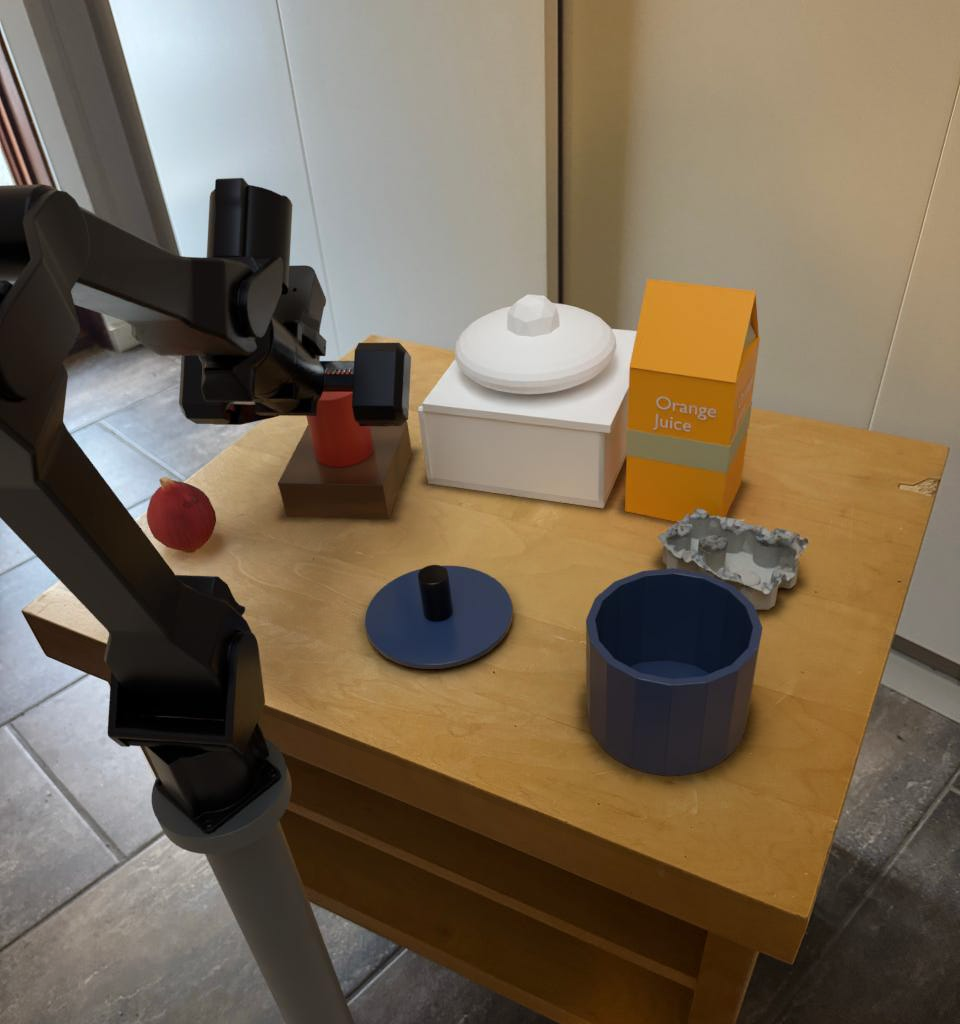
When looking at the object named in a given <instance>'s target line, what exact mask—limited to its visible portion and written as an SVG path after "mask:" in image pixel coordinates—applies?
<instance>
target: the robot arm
mask: <svg viewBox="0 0 960 1024" xmlns="http://www.w3.org/2000/svg"><path fill="white" fill-rule="evenodd" d="M214 183H215V184H214V189H213V190H212V191H211V192H210V195H209V202H208V203H209V204H208V221H207V223H208V224H207V225H208V226H207V240H206V241H207V242H206V243H207V244H206V257H200V256H199V257H195V256H194V257H193V256H183V255H177V254H176V253H174V252H171V251H169V250H167V249H165V248H163V247H162V246H160V245H158V244H155V243H153V242H152V241H150V240H148V239H146V238H144V237H142V236H140V235H138V234H136V233H134V232H132V231H131V230H128V229H126V228H124V227H122V226H120V225H118V224H116V223H115V222H112V221H110V220H108V219H106V218H104V217H102V216H100V215H98V214H96V213H94V212H92V211H91V210H88V209H86V208H84V207H82V206H81V205H79V203H78V202H77V200H76V199H75V197H73V196H72V195H71V194H69V192H67V191H65V190H58V189H56V188H55V187H54V186H52V185H47V184H44V183H43V184H42V183H41V184H13V185H9V184H8V185H7V184H6V185H0V519H1V520H2V521H3V523H5V525H6V526H7V527H8V528H9V529H10V530H11V531H12V532H13V533H14V534H15V535H16V536H17V537H18V538H19V539H20V541H22V542H23V544H25V546H26V547H27V548H28V549H29V550H30V551H31V552H32V553H33V554H34V555H35V556H36V557H37V558H38V559H39V560H40V561H41V562H42V564H44V566H46V568H47V569H49V571H50V572H51V573H52V574H53V575H54V576H55V577H56V579H58V581H60V583H61V584H63V585H64V587H65V588H67V590H69V592H70V593H71V594H72V595H73V596H74V597H75V598H76V599H77V600H78V602H80V603H81V604H82V605H83V606H84V607H85V608H86V609H87V611H88V612H89V613H90V614H91V615H92V617H94V618H95V619H96V620H97V621H98V622H99V623H100V624H101V625H102V626H103V627H104V629H106V631H107V633H108V637H107V642H106V646H105V651H104V654H103V661H104V662H105V664H106V665H107V667H108V668H109V670H110V671H111V672H110V683H109V684H110V686H109V703H108V717H107V737H108V738H109V739H111V740H112V741H114V743H116V744H117V745H118V746H120V747H126V748H129V747H132V746H133V747H142V748H143V747H144V749H145V751H146V753H147V755H148V758H149V759H150V762H151V763H152V765H153V767H154V769H155V771H156V773H157V776H158V775H159V777H160V778H159V779H158V780H157V781H156V783H155V782H154V783H155V786H156V788H157V790H158V791H159V792H160V793H161V794H162V795H163V796H164V797H165V798H166V799H167V800H168V801H170V802H171V803H172V804H173V805H174V806H175V807H176V808H177V809H178V810H179V811H180V812H182V813H183V814H184V815H185V816H186V817H187V818H188V819H189V820H190V821H191V822H193V823H194V824H195V825H196V826H197V827H198V828H199V829H200V830H201V831H202V832H203V833H205V834H212V833H213V832H215V831H216V830H217V829H219V828H220V827H221V826H223V825H224V824H225V823H226V822H228V821H229V820H230V819H231V818H233V817H234V816H235V815H236V814H238V813H239V812H240V811H241V810H243V809H244V808H245V807H247V806H248V805H249V804H250V803H252V802H253V801H254V800H255V799H257V798H258V797H259V796H260V795H262V794H263V793H264V792H265V791H267V790H268V789H269V788H271V787H272V786H273V785H274V784H276V783H277V782H278V781H279V780H280V779H281V773H280V771H279V769H278V768H276V767H275V766H274V765H273V764H271V763H270V762H269V761H267V760H266V759H265V758H267V757H268V756H269V750H268V747H267V744H266V741H265V738H266V737H265V736H264V733H263V730H262V728H261V725H260V722H259V719H260V716H261V715H262V712H263V710H264V707H265V704H266V698H265V697H266V696H265V689H264V680H263V674H262V673H263V672H262V665H261V657H260V650H259V649H260V648H259V643H258V639H257V637H256V635H255V634H254V632H252V629H251V627H250V625H249V623H248V621H247V620H246V619H245V617H244V616H243V615H244V614H245V612H246V607H245V606H244V605H241V604H240V603H239V602H238V601H237V600H236V599H235V597H234V596H233V595H234V594H233V592H232V591H231V588H230V586H229V584H228V583H227V582H225V580H224V579H222V578H221V577H220V576H216V575H214V576H213V575H189V574H187V575H185V574H176V573H175V572H174V571H173V569H172V567H170V566H169V564H168V563H167V562H166V560H165V559H164V557H163V556H162V554H160V552H159V551H158V549H157V548H156V547H155V545H154V544H153V543H152V542H151V540H150V539H149V537H148V536H147V534H146V533H145V532H144V530H143V529H142V528H141V526H140V525H139V524H138V522H137V521H136V520H135V518H134V517H133V516H132V514H131V513H130V512H129V510H128V509H127V508H126V506H125V505H124V504H123V503H122V501H121V500H120V498H119V497H118V496H117V494H116V493H115V491H114V490H113V489H112V488H111V487H110V485H109V483H107V481H106V480H105V478H104V476H102V474H101V472H99V470H98V469H97V468H96V466H95V465H94V464H93V462H92V461H91V460H90V458H89V457H88V456H87V454H86V453H85V451H84V450H83V449H82V448H81V446H80V445H79V443H78V442H77V440H76V439H75V438H74V437H73V435H72V434H71V433H70V431H69V430H68V428H67V426H66V424H65V422H64V417H65V407H66V396H67V389H68V378H69V374H68V371H67V369H66V366H65V365H64V361H65V359H66V358H67V356H68V354H69V353H70V352H71V350H72V348H73V347H74V344H75V343H76V341H77V340H78V338H79V336H80V335H81V329H82V328H81V325H80V321H79V317H78V313H77V309H76V306H78V307H80V308H84V309H87V310H90V311H93V312H96V313H99V314H102V315H105V316H108V317H112V318H113V319H114V318H115V319H117V320H121V321H123V322H125V323H127V324H128V325H130V333H131V337H132V338H133V339H134V341H137V342H138V343H140V344H142V346H144V347H146V348H148V349H149V350H151V351H152V352H153V353H155V354H156V355H159V356H161V357H163V356H164V357H171V356H172V357H174V356H175V357H177V356H178V357H180V358H181V360H180V377H179V378H180V379H179V395H178V397H179V398H178V404H179V409H180V412H181V413H182V414H183V416H184V418H185V419H187V420H188V421H190V422H193V423H194V424H196V425H215V426H216V425H217V426H220V425H221V426H224V425H225V426H242V425H246V424H251V423H254V422H260V421H263V420H264V421H265V420H269V419H273V418H276V417H280V416H281V417H282V416H283V417H284V416H285V417H286V416H288V417H289V416H290V417H294V416H295V417H306V416H317V401H318V400H319V399H320V397H321V395H322V393H323V392H353V395H352V409H353V414H354V419H355V421H356V422H358V423H359V426H402V425H403V424H404V423H405V422H406V421H407V422H408V420H409V411H410V410H409V408H410V391H411V369H412V356H411V354H410V353H409V351H408V350H407V349H406V348H405V347H404V346H403V345H402V344H401V342H358V343H357V344H356V347H355V349H354V355H353V356H354V358H353V360H320V359H321V357H326V355H327V340H326V339H325V338H324V337H323V336H322V334H321V333H320V330H321V324H322V320H323V315H324V311H325V310H324V309H325V307H326V304H327V297H326V295H325V293H324V290H323V288H322V286H321V285H322V284H321V283H320V280H319V278H318V275H317V273H316V271H315V269H314V268H313V267H312V266H311V265H291V263H290V262H291V241H292V224H293V223H292V222H293V202H292V200H291V199H290V198H289V197H288V196H286V195H282V194H280V193H278V192H275V191H273V190H271V189H268V188H265V187H261V186H257V185H253V184H249V183H248V182H247V181H246V180H245V179H244V177H230V178H229V177H227V178H225V177H224V178H216V179H215V182H214ZM337 371H338V373H339V374H337ZM342 371H343V374H341V373H342ZM328 372H329V374H327V373H328ZM332 372H333V373H334V374H332ZM346 372H348V374H346ZM351 372H352V373H353V374H351ZM275 774H276V775H275ZM272 775H275V776H274V777H271V776H272ZM162 784H163V786H161V785H162ZM209 825H211V827H209V828H206V827H207V826H209Z"/></svg>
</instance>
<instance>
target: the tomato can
mask: <svg viewBox="0 0 960 1024" xmlns="http://www.w3.org/2000/svg"><path fill="white" fill-rule="evenodd" d="M327 374H329V372H328V373H327ZM332 374H334V373H333V372H332ZM337 374H339V373H338V371H337ZM341 374H343V371H342V373H341ZM346 374H348V372H346ZM351 374H353V373H352V372H351ZM352 395H353V392H323V393H322V395H321V397H320V399H319V400H318V401H317V416H305V417H306V421H307V426H309V430H310V435H311V439H312V443H313V448H314V452H315V456H316V459H317V460H318V461H319V462H320V463H322V464H324V465H327V466H331V467H346V466H351V465H354V464H357V463H360V462H362V461H364V460H365V459H367V458H368V457H369V456H370V455H371V453H372V452H373V448H374V445H373V440H372V434H371V428H370V426H359V423H358V422H356V421H355V419H354V414H353V409H352Z"/></svg>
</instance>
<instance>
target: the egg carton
mask: <svg viewBox="0 0 960 1024" xmlns="http://www.w3.org/2000/svg"><path fill="white" fill-rule="evenodd" d="M656 538H657V539H658V541H659V542H660V543H661V544H662V545H663V546H662V547H663V549H662V563H663V564H664V565H665V566H666V568H665V569H671V568H674V569H681V570H687V571H693V572H700V573H705V574H708V575H710V576H713V577H715V578H717V579H719V580H721V581H724V582H726V583H728V584H730V585H733V586H734V587H735V588H736V589H737V590H738V591H740V592H741V593H742V594H743V595H744V596H745V597H746V598H747V599H748V600H749V601H750V602H751V603H752V604H753V605H754V607H755V609H756V611H757V610H765V611H769V610H770V609H772V608H773V607H775V606H776V601H777V596H778V590H779V589H780V588H784V589H788V590H790V589H792V588H793V587H794V586H795V585H796V584H797V579H798V573H799V570H800V569H799V567H800V560H799V556H801V555H802V553H804V552H805V550H806V549H807V548H808V547H809V540H808V538H807V537H805V536H801V535H800V534H799V533H798V532H795V531H794V532H791V531H790V530H788V529H784V528H778V527H776V528H774V529H773V530H769V529H767V528H766V527H764V526H763V525H760V524H759V525H757V526H756V525H753V524H750V523H745V522H743V521H742V520H741V519H739V518H733V517H727V516H726V517H719V516H717V515H714V516H711V517H710V516H709V513H708V512H707V511H705V510H703V509H698V508H696V509H695V511H694V513H693V514H692V515H691V516H690V515H689V514H687V515H685V517H684V518H683V520H682V521H679V522H676V523H674V524H672V525H670V526H668V528H667V530H666V531H665V532H664V533H660V534H658V535H657V536H656Z"/></svg>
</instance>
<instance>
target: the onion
mask: <svg viewBox="0 0 960 1024" xmlns="http://www.w3.org/2000/svg"><path fill="white" fill-rule="evenodd" d="M159 482H160V486H159V487H157V489H156V490H155V491H154V493H153V494H152V496H151V497H150V499H149V502H148V506H147V510H146V521H147V526H148V528H149V531H150V533H151V534H152V536H153V539H155V540H157V541H158V542H159V543H161V544H162V545H163V546H164V547H166V548H168V549H172V550H175V551H179V552H184V553H189V554H192V553H195V552H196V551H198V550H200V549H201V548H203V546H204V545H206V543H208V542H209V541H210V539H211V537H212V536H213V534H214V531H215V528H216V524H217V515H216V510H215V509H214V506H213V504H212V502H211V500H210V498H209V497H208V496H207V494H206V493H205V492H204V491H203V490H202V489H201V488H198V487H197V486H195V485H192V484H191V483H190V484H189V483H187V482H184V481H177V480H173V479H172V478H170V477H168V476H164V477H161V478H159Z"/></svg>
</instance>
